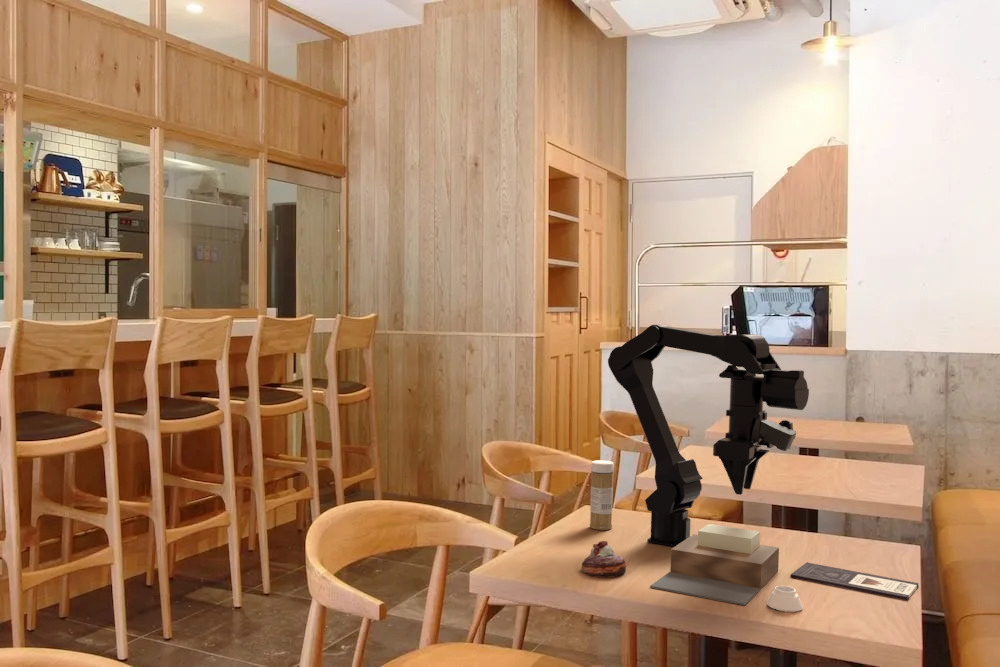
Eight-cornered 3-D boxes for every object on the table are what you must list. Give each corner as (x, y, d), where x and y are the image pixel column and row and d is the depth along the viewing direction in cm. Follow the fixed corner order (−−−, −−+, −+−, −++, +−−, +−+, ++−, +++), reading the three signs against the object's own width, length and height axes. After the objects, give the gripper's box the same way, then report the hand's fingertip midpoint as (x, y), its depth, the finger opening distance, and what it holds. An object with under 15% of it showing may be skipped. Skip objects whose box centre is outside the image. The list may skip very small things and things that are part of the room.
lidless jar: (767, 611, 130) (803, 615, 129) (768, 591, 130) (803, 595, 129) (766, 601, 135) (801, 604, 134) (767, 582, 135) (801, 585, 134)
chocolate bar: (806, 562, 154) (918, 583, 144) (806, 567, 155) (918, 588, 144) (790, 574, 147) (907, 597, 137) (790, 579, 147) (906, 603, 137)
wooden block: (670, 572, 148) (671, 549, 148) (692, 556, 158) (693, 534, 158) (760, 589, 140) (761, 564, 140) (778, 570, 151) (779, 547, 151)
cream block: (697, 545, 151) (698, 530, 151) (708, 537, 156) (708, 523, 156) (750, 553, 146) (751, 539, 146) (759, 545, 151) (760, 531, 151)
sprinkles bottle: (608, 525, 180) (610, 459, 179) (614, 530, 175) (616, 463, 175) (586, 525, 179) (588, 459, 179) (591, 530, 175) (593, 463, 174)
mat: (650, 587, 140) (650, 585, 140) (669, 573, 148) (669, 571, 148) (745, 605, 132) (745, 603, 132) (760, 589, 140) (760, 588, 140)
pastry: (596, 562, 153) (596, 534, 153) (634, 571, 149) (635, 542, 149) (572, 573, 147) (573, 543, 147) (612, 582, 142) (613, 552, 142)
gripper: (780, 413, 145) (777, 507, 146) (803, 403, 161) (800, 488, 162) (713, 407, 151) (710, 498, 151) (742, 399, 167) (739, 481, 167)
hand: (743, 491), depth 158 cm, fingers open, 5 cm apart
